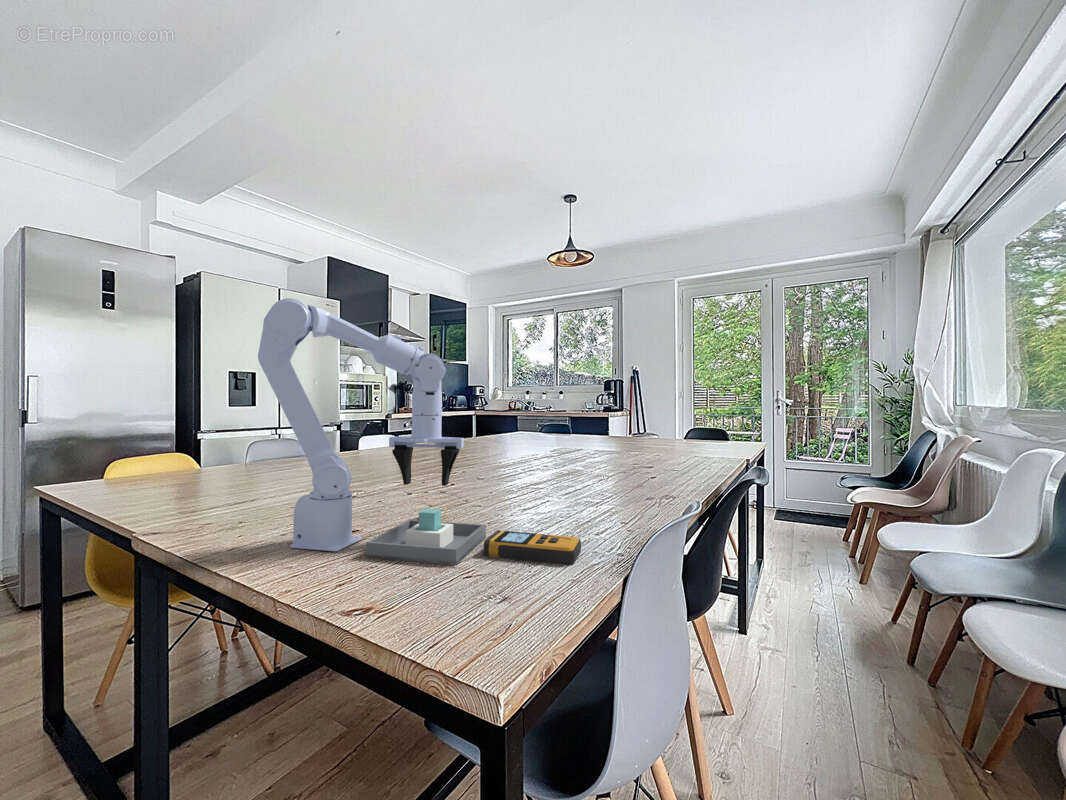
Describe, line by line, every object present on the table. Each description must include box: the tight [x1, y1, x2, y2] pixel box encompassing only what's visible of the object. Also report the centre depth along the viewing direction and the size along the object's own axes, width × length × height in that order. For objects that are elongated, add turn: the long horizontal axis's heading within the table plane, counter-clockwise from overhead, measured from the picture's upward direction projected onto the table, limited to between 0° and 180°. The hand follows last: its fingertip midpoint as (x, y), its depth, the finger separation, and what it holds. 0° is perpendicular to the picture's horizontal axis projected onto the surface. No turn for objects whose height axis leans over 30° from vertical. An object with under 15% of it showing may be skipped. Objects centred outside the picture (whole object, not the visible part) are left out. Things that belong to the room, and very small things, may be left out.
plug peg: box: [418, 508, 442, 532], centre depth 88 cm, size 3×3×6 cm
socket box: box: [365, 519, 487, 566], centre depth 88 cm, size 16×16×4 cm
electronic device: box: [483, 529, 582, 566], centre depth 85 cm, size 8×16×3 cm, turn 75°
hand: (426, 484), depth 95 cm, fingers open, 7 cm apart
